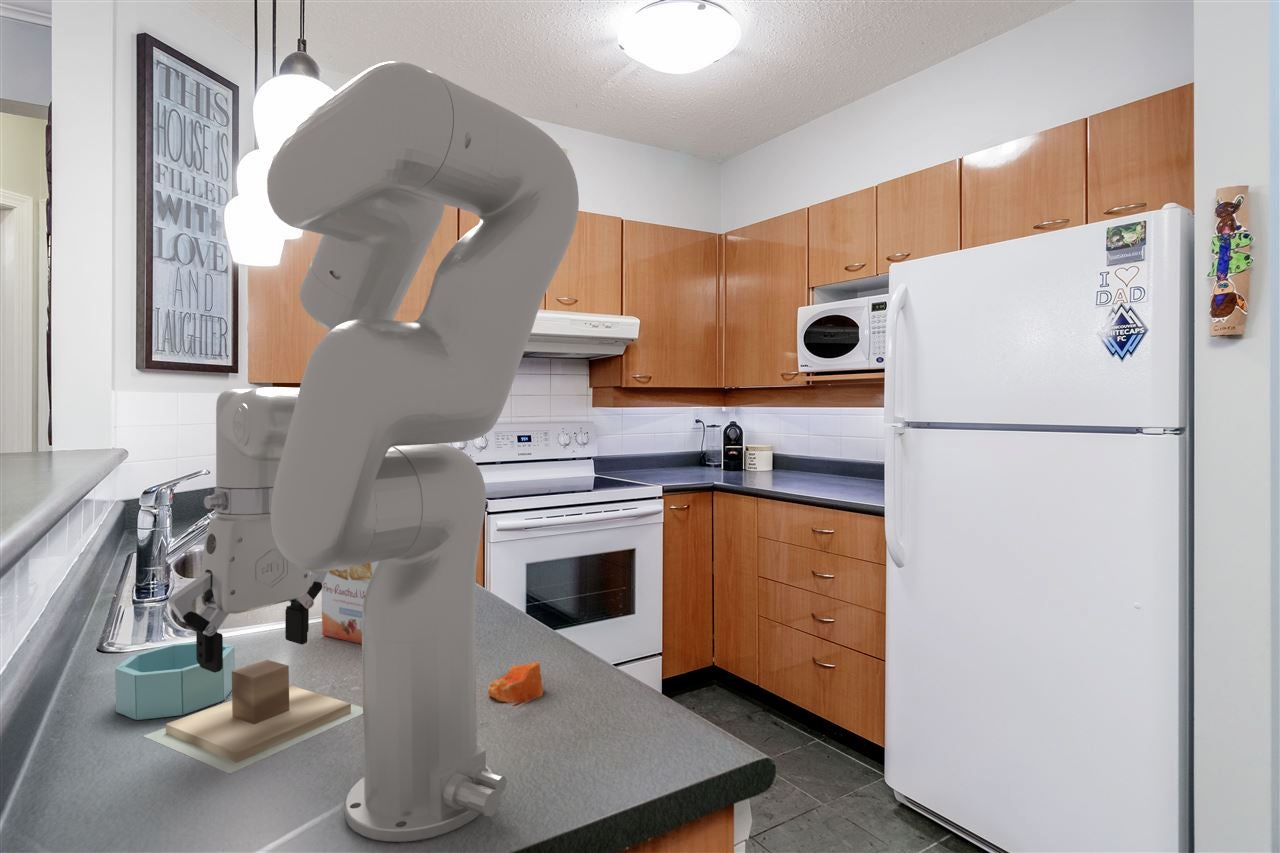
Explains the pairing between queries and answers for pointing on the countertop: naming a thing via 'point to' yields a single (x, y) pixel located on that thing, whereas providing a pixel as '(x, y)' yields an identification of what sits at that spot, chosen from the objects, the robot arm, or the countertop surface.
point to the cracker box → (345, 601)
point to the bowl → (170, 682)
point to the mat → (232, 766)
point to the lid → (257, 714)
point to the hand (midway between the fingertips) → (255, 654)
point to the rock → (518, 684)
